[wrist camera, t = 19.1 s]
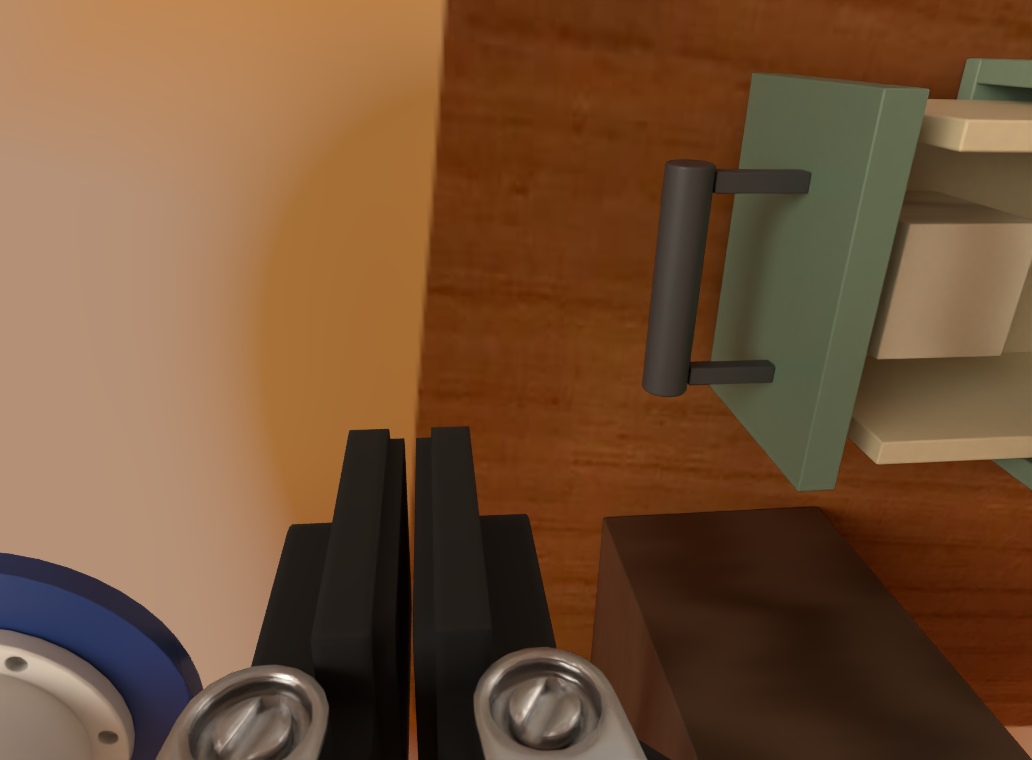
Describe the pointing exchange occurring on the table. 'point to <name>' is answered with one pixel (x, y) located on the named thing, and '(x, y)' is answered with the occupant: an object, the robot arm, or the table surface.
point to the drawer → (840, 276)
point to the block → (951, 279)
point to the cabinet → (1014, 85)
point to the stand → (773, 646)
